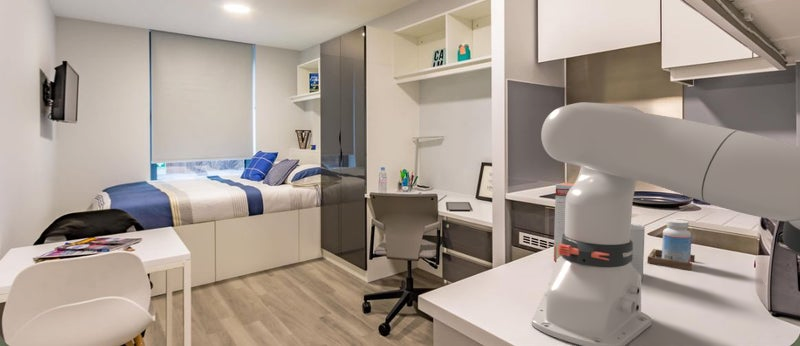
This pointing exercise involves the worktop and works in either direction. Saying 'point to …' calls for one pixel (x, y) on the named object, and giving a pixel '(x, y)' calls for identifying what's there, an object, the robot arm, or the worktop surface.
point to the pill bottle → (676, 241)
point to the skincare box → (638, 247)
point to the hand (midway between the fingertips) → (762, 157)
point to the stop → (668, 261)
